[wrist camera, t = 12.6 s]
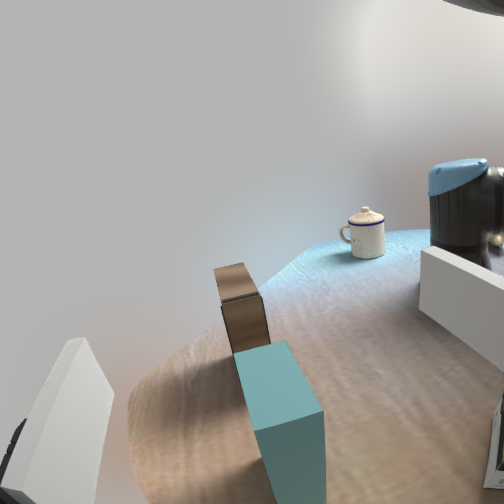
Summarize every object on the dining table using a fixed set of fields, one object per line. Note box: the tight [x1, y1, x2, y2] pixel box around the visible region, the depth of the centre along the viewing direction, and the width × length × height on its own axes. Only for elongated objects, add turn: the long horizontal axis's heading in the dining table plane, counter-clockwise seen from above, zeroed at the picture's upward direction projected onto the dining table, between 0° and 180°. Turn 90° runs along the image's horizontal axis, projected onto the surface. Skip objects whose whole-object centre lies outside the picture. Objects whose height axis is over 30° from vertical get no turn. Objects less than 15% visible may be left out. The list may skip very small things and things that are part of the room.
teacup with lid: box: [339, 207, 385, 259], centre depth 73 cm, size 12×9×12 cm
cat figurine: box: [488, 235, 504, 247], centre depth 59 cm, size 8×7×12 cm
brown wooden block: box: [214, 263, 271, 386], centre depth 38 cm, size 11×4×14 cm, turn 11°
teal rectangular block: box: [234, 340, 326, 504], centre depth 21 cm, size 8×4×14 cm, turn 11°
